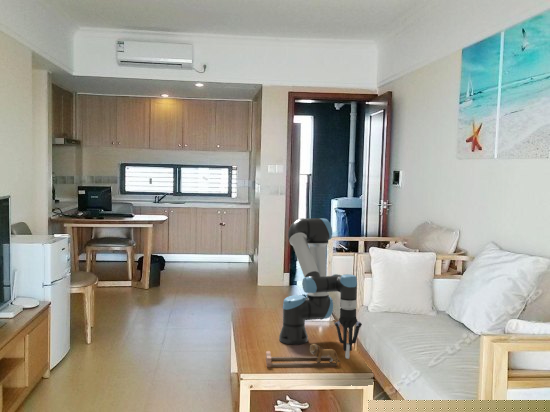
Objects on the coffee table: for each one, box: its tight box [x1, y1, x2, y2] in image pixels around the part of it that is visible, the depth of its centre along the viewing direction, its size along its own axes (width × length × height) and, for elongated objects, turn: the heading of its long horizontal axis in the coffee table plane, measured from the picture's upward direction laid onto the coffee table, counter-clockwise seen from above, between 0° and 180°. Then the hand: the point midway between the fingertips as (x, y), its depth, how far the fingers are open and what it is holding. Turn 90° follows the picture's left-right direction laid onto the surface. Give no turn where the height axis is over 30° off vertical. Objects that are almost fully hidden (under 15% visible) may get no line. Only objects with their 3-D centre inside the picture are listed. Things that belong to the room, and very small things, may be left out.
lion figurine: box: [309, 343, 341, 366], centre depth 250 cm, size 15×5×9 cm, turn 91°
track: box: [265, 350, 337, 368], centre depth 249 cm, size 10×32×4 cm, turn 94°
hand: (347, 357), depth 250 cm, fingers closed
